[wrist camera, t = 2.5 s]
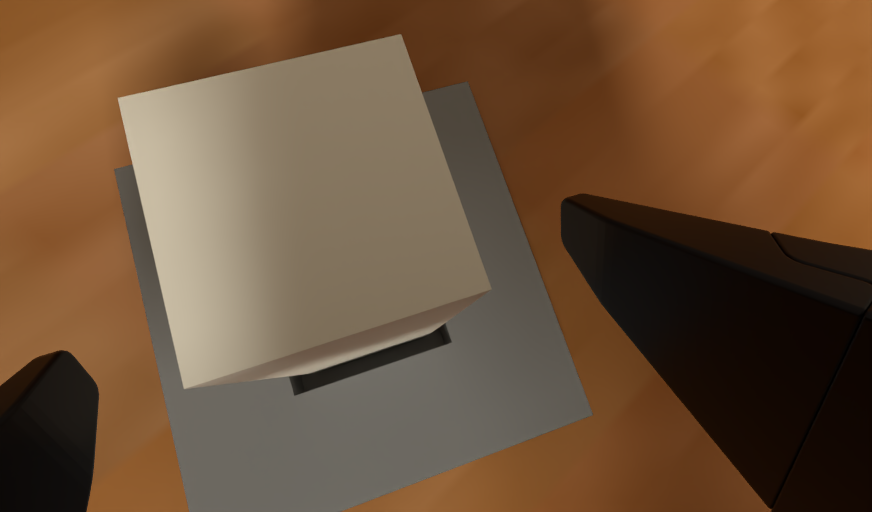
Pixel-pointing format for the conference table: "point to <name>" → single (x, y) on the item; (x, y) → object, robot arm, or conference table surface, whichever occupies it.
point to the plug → (300, 214)
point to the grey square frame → (380, 372)
